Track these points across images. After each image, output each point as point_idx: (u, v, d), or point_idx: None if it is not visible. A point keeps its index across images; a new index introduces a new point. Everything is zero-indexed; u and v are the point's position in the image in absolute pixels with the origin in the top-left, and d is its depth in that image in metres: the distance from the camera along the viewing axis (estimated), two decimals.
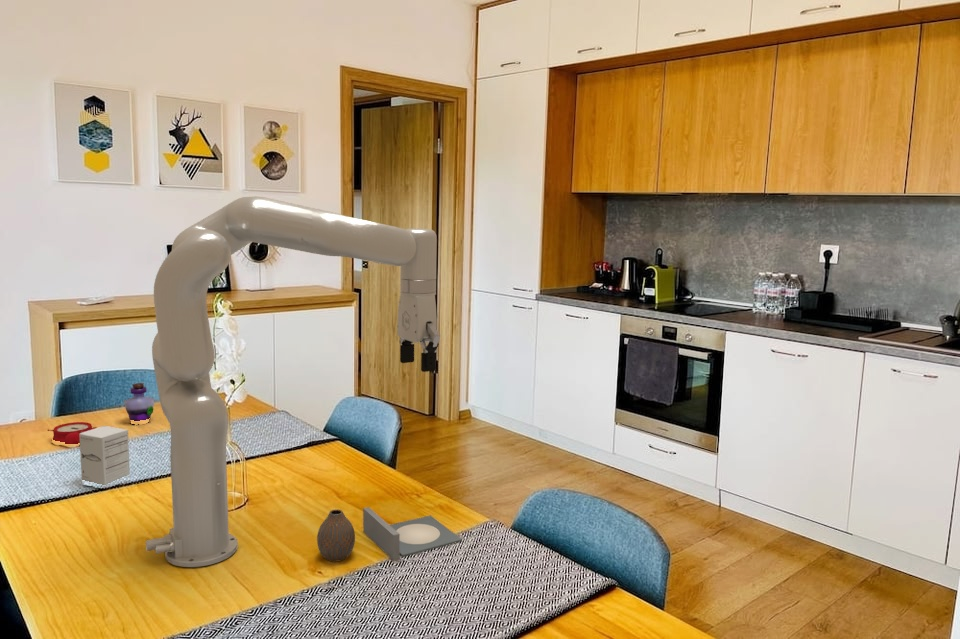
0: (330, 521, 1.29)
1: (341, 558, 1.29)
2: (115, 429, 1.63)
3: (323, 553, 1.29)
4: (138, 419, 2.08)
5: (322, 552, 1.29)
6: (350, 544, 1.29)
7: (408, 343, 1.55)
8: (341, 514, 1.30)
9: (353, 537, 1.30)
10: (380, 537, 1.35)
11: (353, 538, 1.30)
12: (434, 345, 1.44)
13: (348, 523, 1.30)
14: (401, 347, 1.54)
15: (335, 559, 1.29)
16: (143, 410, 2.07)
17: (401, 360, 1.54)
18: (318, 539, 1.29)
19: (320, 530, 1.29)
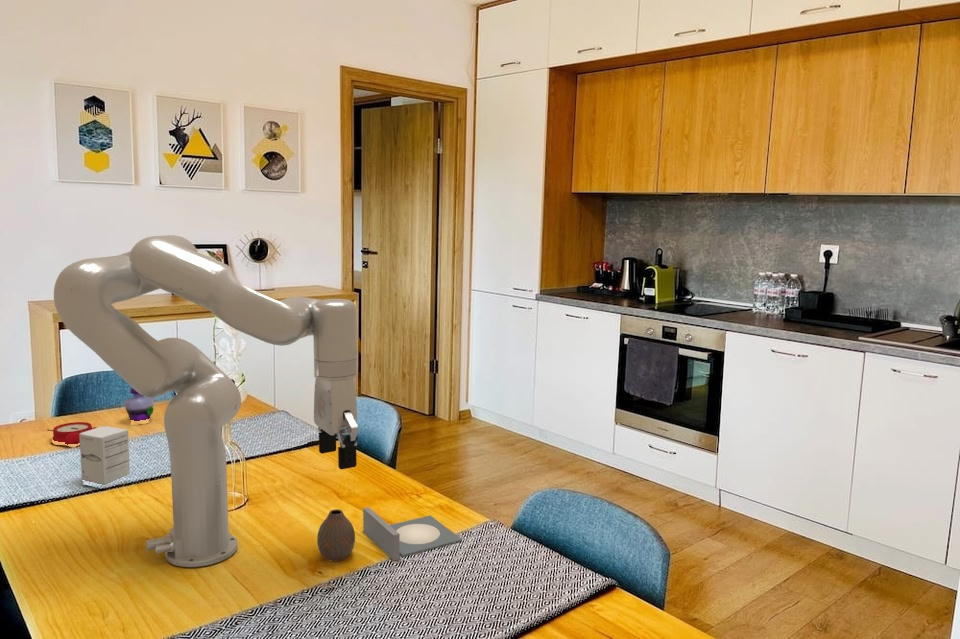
0: (330, 521, 1.29)
1: (341, 558, 1.29)
2: (115, 429, 1.63)
3: (323, 553, 1.29)
4: (138, 419, 2.08)
5: (322, 552, 1.29)
6: (350, 544, 1.29)
7: None
8: (341, 514, 1.30)
9: (353, 537, 1.30)
10: (380, 537, 1.35)
11: (353, 538, 1.30)
12: (352, 439, 1.21)
13: (348, 523, 1.30)
14: (320, 435, 1.31)
15: (335, 559, 1.29)
16: (143, 410, 2.07)
17: (320, 450, 1.32)
18: (318, 539, 1.29)
19: (320, 530, 1.29)
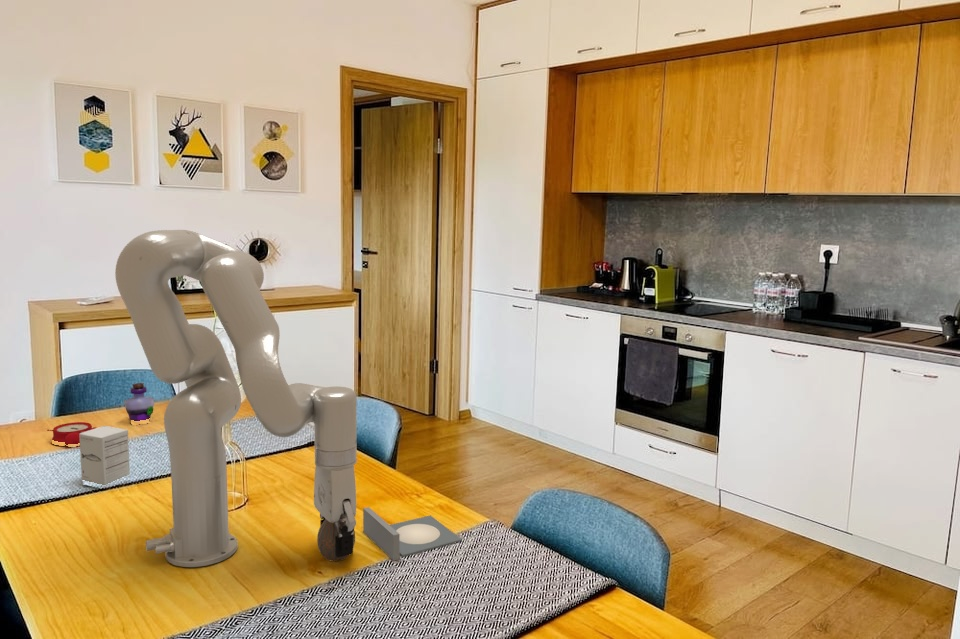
0: None
1: (341, 558, 1.29)
2: (115, 429, 1.63)
3: (323, 553, 1.29)
4: (138, 419, 2.08)
5: (322, 552, 1.29)
6: None
7: None
8: None
9: (353, 537, 1.30)
10: (380, 537, 1.35)
11: (353, 538, 1.30)
12: (349, 531, 1.25)
13: None
14: (321, 523, 1.33)
15: (335, 559, 1.29)
16: (143, 410, 2.07)
17: None
18: (318, 539, 1.29)
19: (320, 530, 1.29)
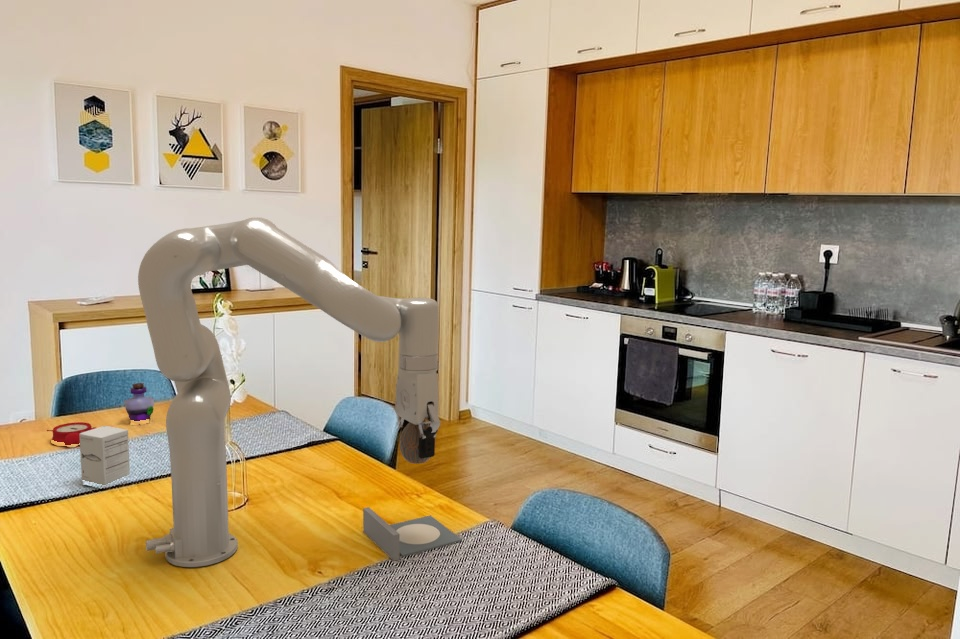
0: (413, 425, 1.35)
1: (423, 460, 1.36)
2: (115, 429, 1.63)
3: (406, 455, 1.35)
4: (138, 419, 2.08)
5: (405, 454, 1.35)
6: None
7: None
8: None
9: None
10: (380, 537, 1.35)
11: None
12: (433, 431, 1.32)
13: None
14: (402, 430, 1.40)
15: (417, 461, 1.36)
16: (143, 410, 2.07)
17: None
18: (401, 442, 1.36)
19: (403, 434, 1.36)
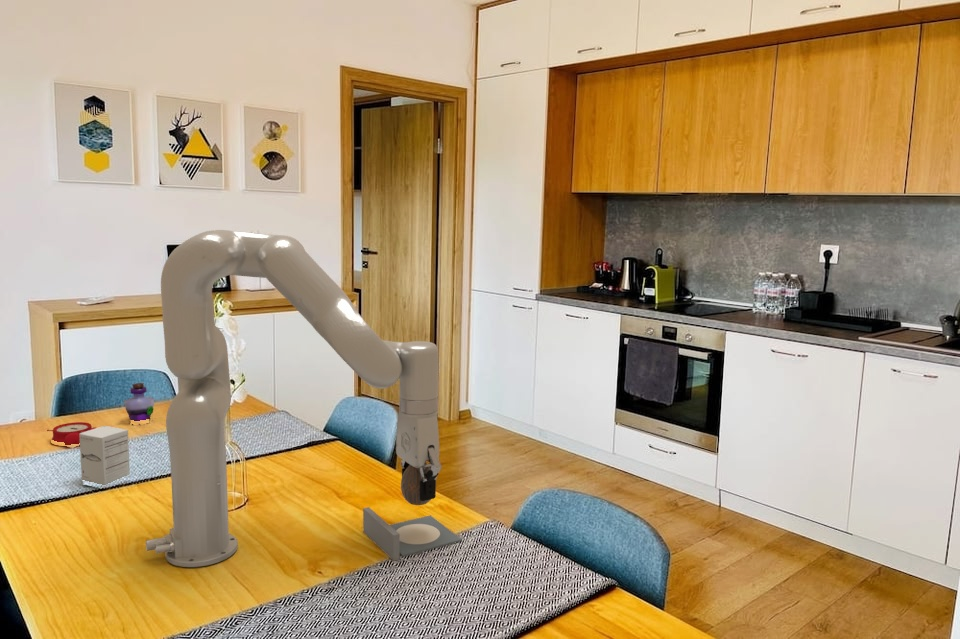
0: (414, 467, 1.37)
1: (424, 502, 1.37)
2: (115, 429, 1.63)
3: (407, 497, 1.37)
4: (138, 419, 2.08)
5: (406, 496, 1.37)
6: None
7: None
8: None
9: None
10: (380, 537, 1.35)
11: None
12: (433, 475, 1.33)
13: None
14: (403, 471, 1.41)
15: (419, 503, 1.37)
16: (143, 410, 2.07)
17: None
18: (402, 484, 1.37)
19: (404, 476, 1.37)
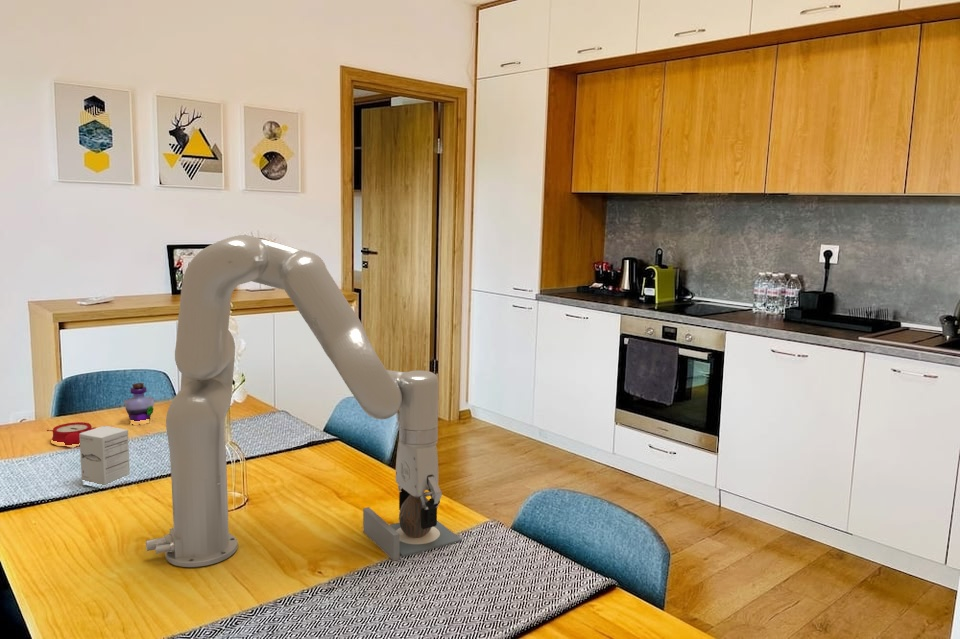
0: (412, 500, 1.38)
1: (422, 535, 1.38)
2: (115, 429, 1.63)
3: (405, 530, 1.38)
4: (138, 419, 2.08)
5: (404, 529, 1.38)
6: None
7: None
8: None
9: None
10: (380, 537, 1.35)
11: None
12: (435, 503, 1.33)
13: None
14: (400, 494, 1.42)
15: (417, 536, 1.38)
16: (143, 410, 2.07)
17: (400, 508, 1.43)
18: (400, 517, 1.38)
19: (402, 509, 1.38)
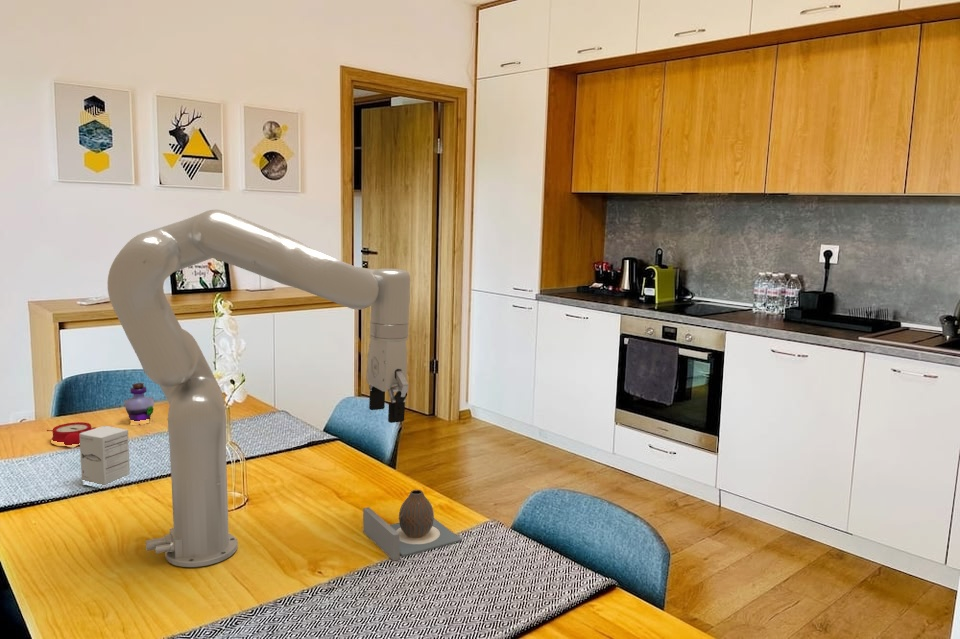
0: (412, 500, 1.38)
1: (422, 535, 1.38)
2: (115, 429, 1.63)
3: (405, 530, 1.38)
4: (138, 419, 2.08)
5: (404, 529, 1.38)
6: (431, 522, 1.38)
7: (378, 389, 1.45)
8: (422, 494, 1.39)
9: (432, 515, 1.39)
10: (380, 537, 1.35)
11: (433, 516, 1.39)
12: (402, 395, 1.34)
13: (428, 502, 1.39)
14: (370, 393, 1.44)
15: (416, 536, 1.38)
16: (143, 410, 2.07)
17: (370, 407, 1.45)
18: (400, 517, 1.38)
19: (402, 509, 1.38)
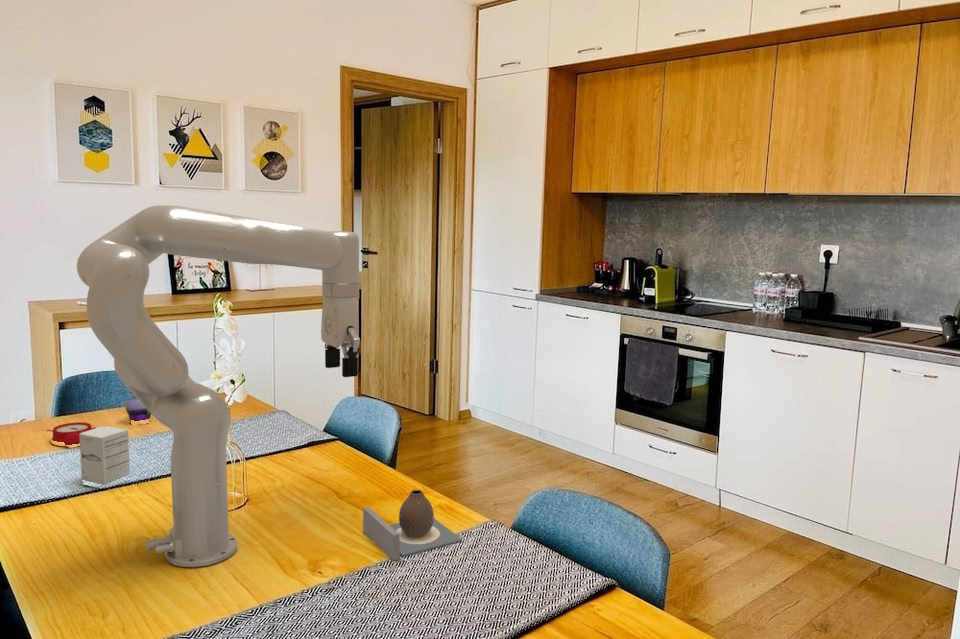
0: (412, 500, 1.38)
1: (422, 535, 1.38)
2: (115, 429, 1.63)
3: (405, 530, 1.38)
4: (138, 419, 2.08)
5: (404, 529, 1.38)
6: (431, 521, 1.38)
7: (333, 348, 1.52)
8: (422, 494, 1.39)
9: (432, 515, 1.39)
10: (380, 537, 1.35)
11: (432, 516, 1.39)
12: (354, 350, 1.41)
13: (428, 502, 1.39)
14: (326, 352, 1.51)
15: (416, 536, 1.38)
16: (143, 410, 2.07)
17: (326, 365, 1.52)
18: (400, 517, 1.38)
19: (402, 509, 1.38)
